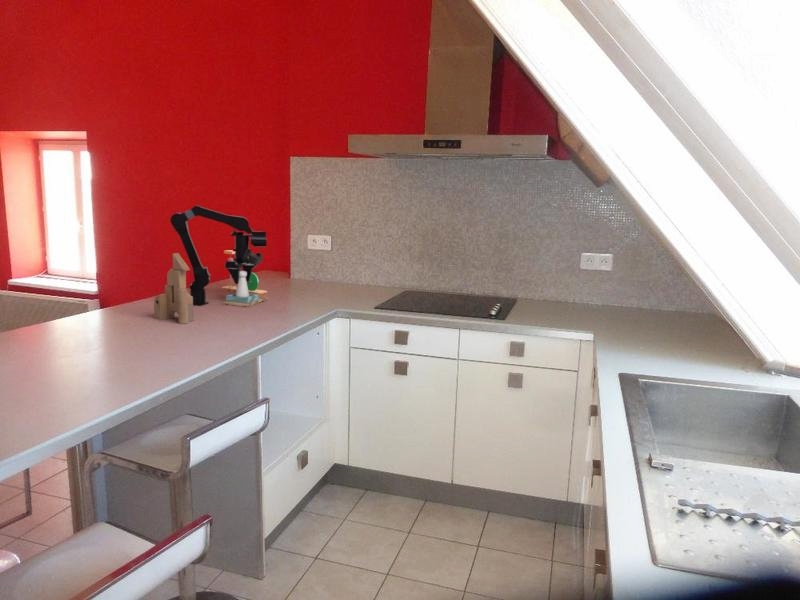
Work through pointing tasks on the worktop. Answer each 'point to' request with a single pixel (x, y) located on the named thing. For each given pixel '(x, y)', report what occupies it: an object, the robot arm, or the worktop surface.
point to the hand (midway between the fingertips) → (242, 282)
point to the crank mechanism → (251, 283)
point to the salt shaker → (242, 285)
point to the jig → (244, 299)
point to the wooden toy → (175, 294)
